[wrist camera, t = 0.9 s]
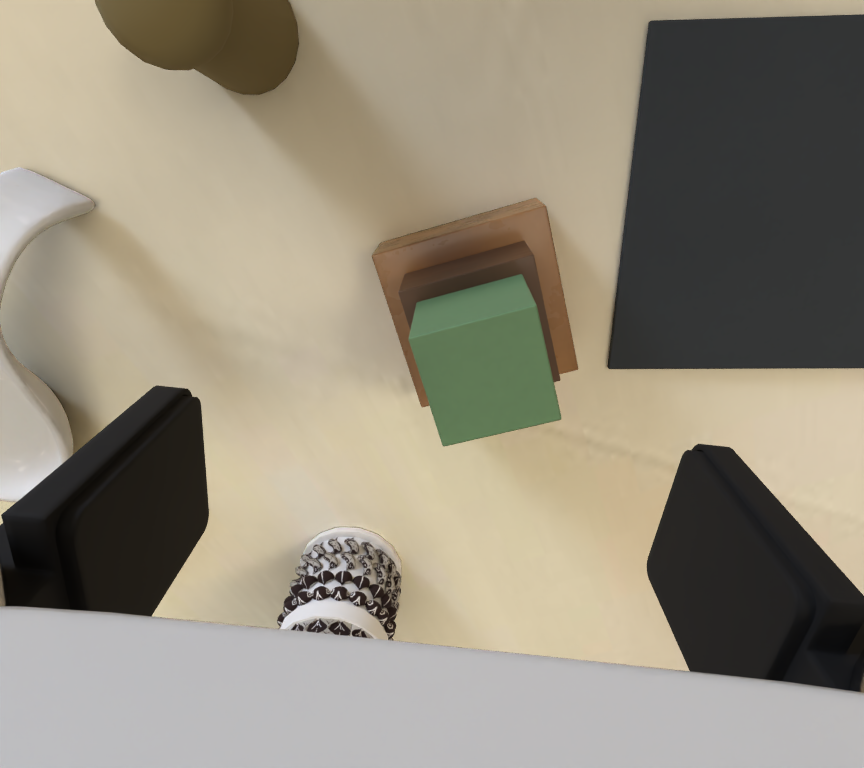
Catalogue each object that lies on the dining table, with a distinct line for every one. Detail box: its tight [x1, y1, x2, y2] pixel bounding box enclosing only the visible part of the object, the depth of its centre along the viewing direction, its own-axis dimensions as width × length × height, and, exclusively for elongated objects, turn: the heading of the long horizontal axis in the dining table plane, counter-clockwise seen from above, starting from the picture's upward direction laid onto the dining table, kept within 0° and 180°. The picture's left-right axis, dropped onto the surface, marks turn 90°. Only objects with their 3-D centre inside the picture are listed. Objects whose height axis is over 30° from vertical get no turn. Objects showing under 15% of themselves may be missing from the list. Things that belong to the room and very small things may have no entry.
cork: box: [95, 0, 299, 94], centre depth 26 cm, size 6×6×11 cm
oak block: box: [372, 198, 578, 407], centre depth 35 cm, size 10×10×4 cm
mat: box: [608, 15, 864, 369], centre depth 33 cm, size 20×20×1 cm
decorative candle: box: [277, 527, 401, 641], centre depth 35 cm, size 9×9×25 cm
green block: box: [409, 274, 561, 446], centre depth 27 cm, size 6×6×6 cm
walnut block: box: [398, 241, 560, 382], centre depth 31 cm, size 7×7×4 cm
